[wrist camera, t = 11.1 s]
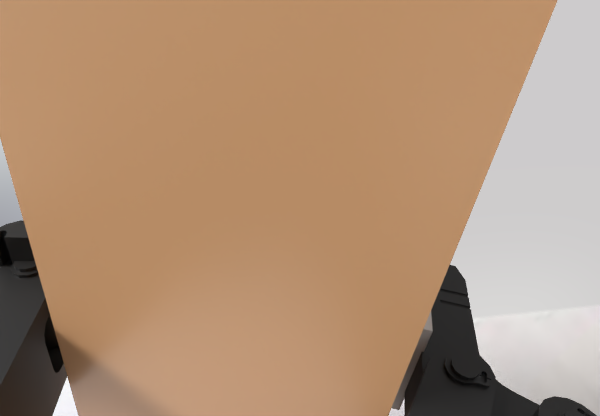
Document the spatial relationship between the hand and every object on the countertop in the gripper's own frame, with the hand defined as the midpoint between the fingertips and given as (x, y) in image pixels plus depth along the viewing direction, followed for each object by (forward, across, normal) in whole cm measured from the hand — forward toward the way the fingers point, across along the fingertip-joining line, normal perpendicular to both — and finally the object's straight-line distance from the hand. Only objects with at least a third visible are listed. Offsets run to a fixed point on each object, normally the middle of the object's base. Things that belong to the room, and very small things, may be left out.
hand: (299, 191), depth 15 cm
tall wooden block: (-5, 0, -10) cm, 11 cm away
